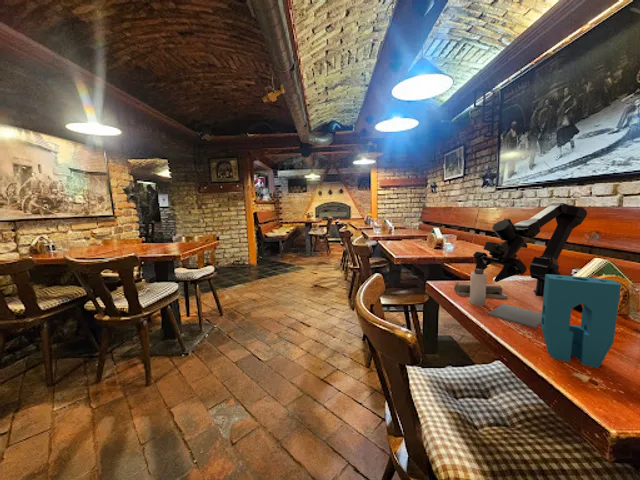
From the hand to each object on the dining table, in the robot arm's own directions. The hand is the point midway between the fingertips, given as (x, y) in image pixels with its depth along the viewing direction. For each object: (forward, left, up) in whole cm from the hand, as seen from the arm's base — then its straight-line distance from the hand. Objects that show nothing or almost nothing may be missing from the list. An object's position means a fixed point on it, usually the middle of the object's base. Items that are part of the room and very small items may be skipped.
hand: (484, 277), depth 97 cm
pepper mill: (+2, -2, -10) cm, 10 cm away
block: (+31, +19, -10) cm, 38 cm away
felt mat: (+8, +10, -10) cm, 16 cm away
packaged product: (-12, -2, -11) cm, 16 cm away
